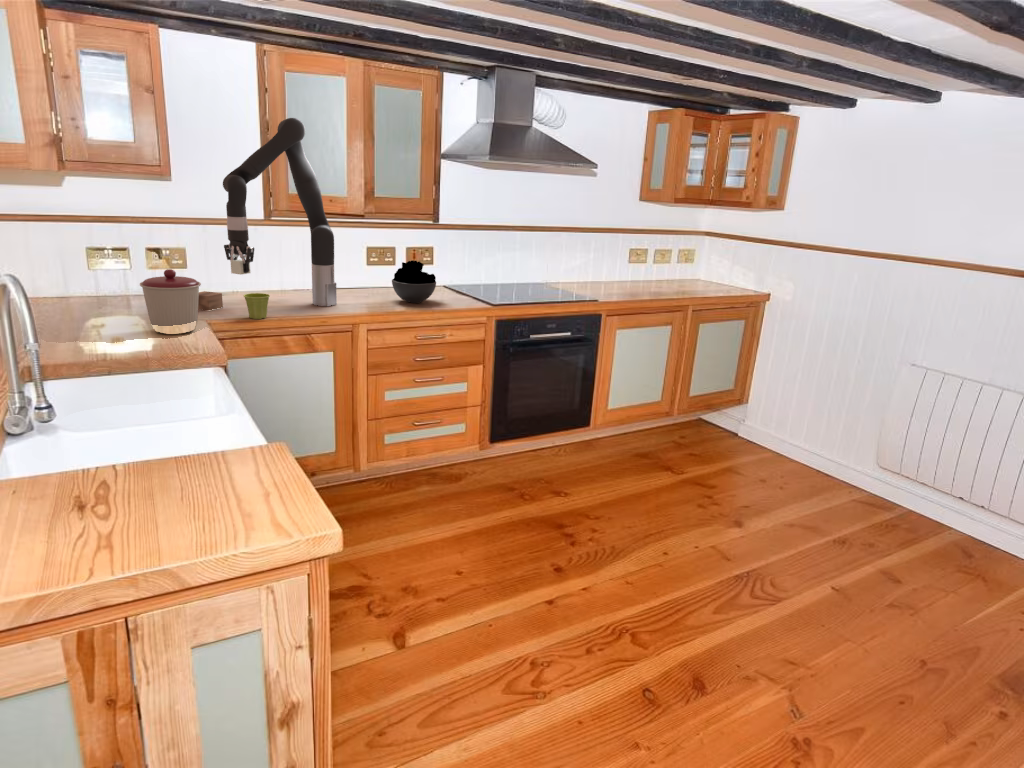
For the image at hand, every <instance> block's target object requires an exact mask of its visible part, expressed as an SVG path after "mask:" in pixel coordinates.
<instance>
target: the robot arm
mask: <svg viewBox="0 0 1024 768" xmlns="http://www.w3.org/2000/svg"><path fill="white" fill-rule="evenodd" d="M305 135H306V126H305V124H304V123H303V122H302V120H300V119H298V118H296V117H289V118H285V119H283V120H282V121H280V122H279V123H278V125H277V132H276V133H275V134H274V136H272V138H271V139H269V141H267V142H266V143H264V144H263V145H262V146H260V148H258V149H257V150H255V151H254V152H253V153H252V154H251V155H250V156H248V157H247V159H245V160H244V161H243V162H242V163H241V164H240V165H239V166H238V167H236V168H235V169H233V170H232V171H231V172H229V173H228V174H226V176H225V177H224V178H223V181H222V188H223V190H225V192H227V194H228V195H227V197H228V198H227V199H228V200H227V202H226V209H225V210H226V228H227V240H228V241H229V244H224V245H223V248H224V252H225V256H226V259H227V261H231V260H239V258H240V259H241V260H242V261H243V263H244V264H243V272H244V273H248V272H249V263H250V264H251V263H252V262H254V257H255V256H254V255H255V247H254V246H249V244H248V241H249V240H250V238H249V226H248V225H249V224H248V220H247V218H248V217H247V207H246V204H247V203H246V202H247V192H248V191H247V190H248V188H247V184H248V183H250V182H251V181H253V180H256V179H257V178H258V177H259V176H261V174H262V173H264V171H265V170H267V169H268V168H269V167H270V166H271V165H272V164H273V162H274V161H276V159H278V157H279V156H281V155H282V154H284V152H285V155H286V158H287V161H288V165H289V169H290V173H291V176H292V180H293V183H294V187H295V189H296V193H297V195H298V200H299V201H300V203H301V205H302V208H303V210H304V212H305V215H306V217H307V222H308V226H309V230H310V244H311V245H310V250H311V253H310V254H311V256H310V258H311V287H312V288H311V291H312V292H311V294H312V296H311V297H312V305H313V304H314V306H317V305H318V307H320V306H321V307H331V305H332V306H337V304H338V303H337V302H338V301H337V282H335V235H334V232H333V230H332V228H331V226H330V223H329V221H328V219H327V216H326V213H325V209H324V202H323V196H322V193H321V188H320V184H319V180H318V177H317V175H316V173H315V171H314V168H313V167H312V165H311V163H310V161H309V159H308V158H307V156H306V154H305V150H304V146H303V142H302V140H303V139H304V137H305ZM248 274H249V273H248Z"/></svg>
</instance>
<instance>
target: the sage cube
mask: <svg viewBox="0 0 1024 768" xmlns="http://www.w3.org/2000/svg"><path fill="white" fill-rule="evenodd" d="M229 261H230V260H229ZM243 264H244V263H243V261H242V258H240V259H239V258H238V259H237V260H231V261H230V270H231V271H230V273H231V274H234V275H247V274H251V262H250V263H249V272H248V273H244V272H243Z"/></svg>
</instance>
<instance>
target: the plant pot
mask: <svg viewBox="0 0 1024 768" xmlns="http://www.w3.org/2000/svg"><path fill="white" fill-rule="evenodd" d="M270 296H271V295H270V294H269V293H261V292H255V293H254V292H251V293H250V292H249V293H245V294H243V298H244V300H245V301H246V302H245V303H246V307H247V311H248V316H249V318H250V319H253V320H261V319H266V318H267V316H268V304H269V300H270Z"/></svg>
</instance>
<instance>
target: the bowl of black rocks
mask: <svg viewBox="0 0 1024 768" xmlns="http://www.w3.org/2000/svg"><path fill="white" fill-rule="evenodd" d="M424 265H425V264H424V263H422V262H421V261H420V260H419V261H417V260H408V261H407V262H403V261H402V262H401V267H399V268H398V269H397V270H396V272H395V273H394V275H393V279H391V285H392V288H393V290H394V293H396V295H397V296H398V297H399V298H400V299H401V300H402V301H405V302H408V303H410V302H411V304H417V303H422V302H425V301H426V300H428V299H429V298H430V297H431V296H432V295H433V293H434V292H435V289H436V288H437V287H436V286H437V281H436V276H435V273H431V274H429V273H428V272H425V271H423V268H424Z"/></svg>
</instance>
